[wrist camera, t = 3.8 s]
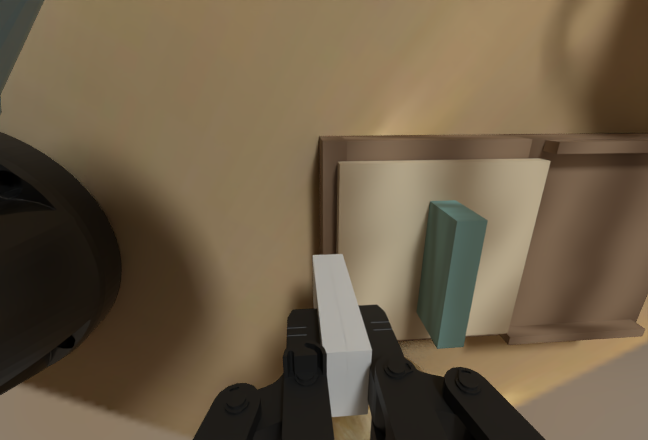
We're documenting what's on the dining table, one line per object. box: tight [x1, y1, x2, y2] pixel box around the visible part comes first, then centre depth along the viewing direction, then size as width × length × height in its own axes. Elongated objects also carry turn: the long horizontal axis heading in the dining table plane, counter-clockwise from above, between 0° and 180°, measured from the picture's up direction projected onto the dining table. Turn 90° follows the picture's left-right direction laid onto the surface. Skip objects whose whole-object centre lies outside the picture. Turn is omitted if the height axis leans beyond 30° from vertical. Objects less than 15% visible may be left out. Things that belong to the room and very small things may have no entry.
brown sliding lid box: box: [319, 133, 648, 345], centre depth 20 cm, size 22×13×4 cm, turn 90°
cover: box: [336, 158, 551, 349], centre depth 17 cm, size 11×11×4 cm
